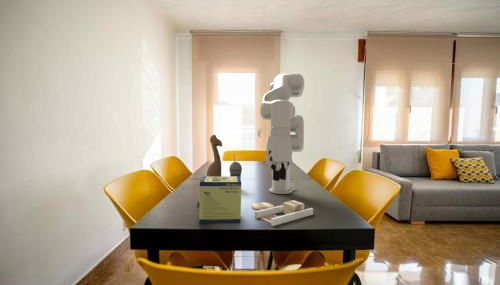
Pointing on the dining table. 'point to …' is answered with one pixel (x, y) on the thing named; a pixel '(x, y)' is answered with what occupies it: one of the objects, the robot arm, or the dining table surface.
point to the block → (292, 207)
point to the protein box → (220, 200)
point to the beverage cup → (235, 169)
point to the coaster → (261, 206)
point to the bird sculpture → (215, 166)
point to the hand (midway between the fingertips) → (279, 179)
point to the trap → (268, 217)
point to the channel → (284, 217)
